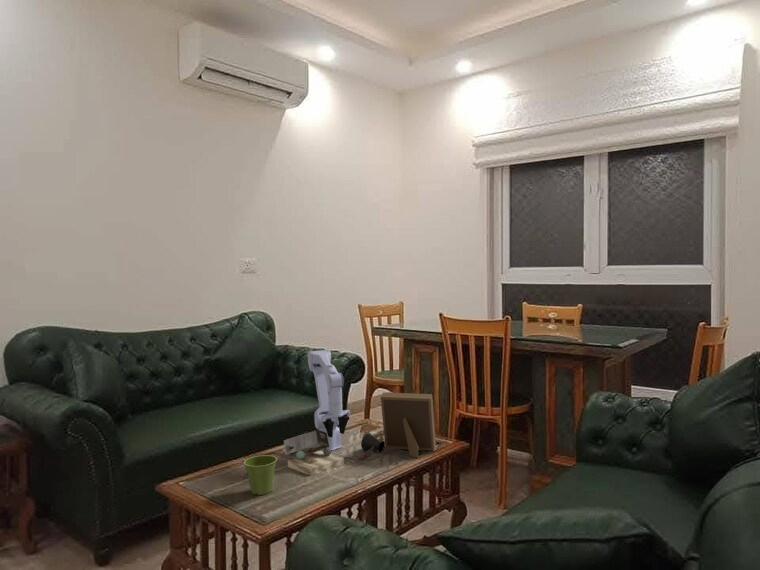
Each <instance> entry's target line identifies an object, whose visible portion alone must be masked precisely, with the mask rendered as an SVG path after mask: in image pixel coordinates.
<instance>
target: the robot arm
mask: <svg viewBox="0 0 760 570" xmlns="http://www.w3.org/2000/svg"><path fill="white" fill-rule="evenodd" d="M331 361H332V354H331V351H330V349H324V350H310V351H309V350H308V352H307V362H308V368H309V371H310V372H312V373H313V376H314V381H315V387H316V393H317V395H316V396H317V401H318V406H319V407H318V408H317V409H316V410H315V411H314V415H313V416H314V425H315V428H316V430H319V431H323V432H326V433H327V437H328V443H329V448H330V449H331V450H332V451H335V450H337V449H342V448H343V446H342V438H341V437H342V435H344V434H345V433H346V432H345V431H346V427H347V424H348V421H349V420H350V415H351V410H349V409H344V410H343V389H342V388H344V382H345V381H344V380H345V379H344V376H343V373H342V372H338V370H337V368H336V367H335V365H334V364H332V363H331ZM323 450H324V449H322V450H320V451H323Z"/></svg>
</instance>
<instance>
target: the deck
mask: <svg viewBox="0 0 760 570" xmlns="http://www.w3.org/2000/svg"><path fill="white" fill-rule="evenodd" d="M343 465H345V457H342V456H339V455H336V454H333V453H331V454H330V455H328V456H326V455H324V453H323V451H321V450H319V451H315V452H312V453H309V454H306V455H305V456H304V458H303V459H298V458H296V457H294V458H292V459H288V460H287V467H288V468H290V469H293V470H295V471H297V472H300V473H303V474H306V475H308V476H310V477H311V476H315V475H317V474H320V473H323V472H326V471H329V470H332V469H336V468H338V467H340V466H343Z"/></svg>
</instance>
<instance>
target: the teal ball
mask: <svg viewBox="0 0 760 570" xmlns="http://www.w3.org/2000/svg"><path fill="white" fill-rule="evenodd" d="M296 456H297V458H298V459H303V458H304V456H305V453H304V452H303V451H298V452H297V454H296Z"/></svg>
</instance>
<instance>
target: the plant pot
mask: <svg viewBox="0 0 760 570" xmlns="http://www.w3.org/2000/svg"><path fill="white" fill-rule="evenodd" d="M277 461H278V458H277V456H274V455H272V454H271V455H270V454H262V455H257V456H256V455H255V456H252V457H249V458H246V459H245V460H244V461H243V465H244V467H245V470H246V473H247V476H248V482H249V486H250V491H251V493H252V494H253V495H258V496H263V495H268V494H270V492H272V491H273V485H274V476H275V475H274V474H275V468H276V463H277Z"/></svg>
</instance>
